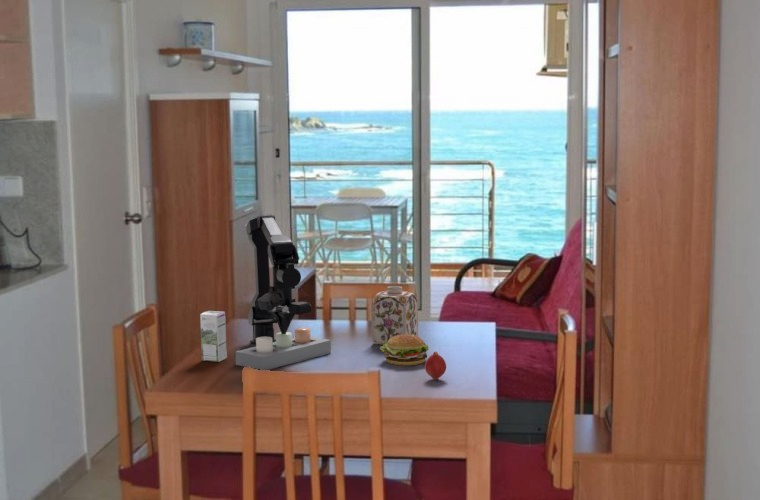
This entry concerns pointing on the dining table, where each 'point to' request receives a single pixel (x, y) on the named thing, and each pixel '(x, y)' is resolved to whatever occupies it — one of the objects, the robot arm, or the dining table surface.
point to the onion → (435, 366)
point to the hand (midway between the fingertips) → (283, 333)
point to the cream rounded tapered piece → (264, 345)
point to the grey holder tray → (283, 354)
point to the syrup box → (213, 336)
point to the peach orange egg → (302, 335)
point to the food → (405, 350)
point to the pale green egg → (283, 340)
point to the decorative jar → (394, 314)
